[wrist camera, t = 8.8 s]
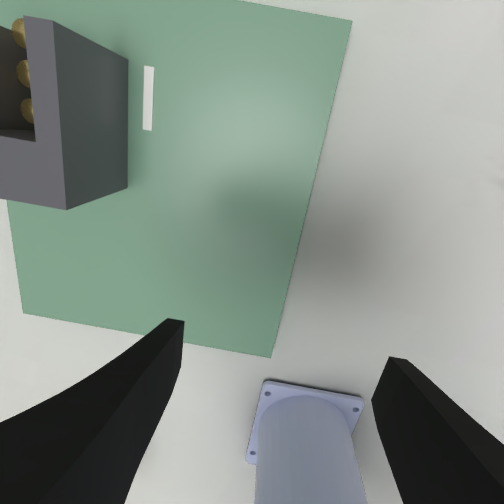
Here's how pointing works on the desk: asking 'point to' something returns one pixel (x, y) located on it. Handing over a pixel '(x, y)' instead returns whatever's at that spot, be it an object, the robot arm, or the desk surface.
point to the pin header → (23, 68)
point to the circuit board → (190, 170)
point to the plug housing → (62, 118)
